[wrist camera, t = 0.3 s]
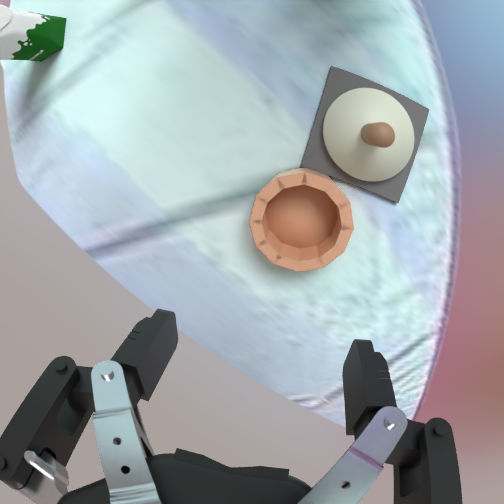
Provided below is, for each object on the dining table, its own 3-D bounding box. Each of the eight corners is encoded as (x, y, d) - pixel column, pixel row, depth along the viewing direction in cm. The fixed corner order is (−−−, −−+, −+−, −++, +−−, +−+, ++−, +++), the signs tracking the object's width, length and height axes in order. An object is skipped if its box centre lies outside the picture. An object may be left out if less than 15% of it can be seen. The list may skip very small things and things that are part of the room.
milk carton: (38, 67, 31) (-42, 70, 13) (42, 31, 27) (-33, 25, 9) (66, 49, 30) (-22, 42, 12) (70, 12, 26) (-9, -4, 8)
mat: (330, 67, 28) (331, 65, 27) (427, 109, 27) (429, 109, 27) (300, 165, 34) (301, 166, 33) (396, 201, 34) (398, 203, 33)
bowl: (270, 156, 34) (266, 159, 30) (358, 186, 34) (367, 194, 29) (247, 238, 39) (240, 253, 35) (327, 264, 39) (330, 281, 34)
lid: (337, 75, 28) (345, 64, 22) (421, 112, 27) (442, 110, 22) (311, 161, 33) (313, 166, 28) (394, 193, 33) (411, 205, 27)
